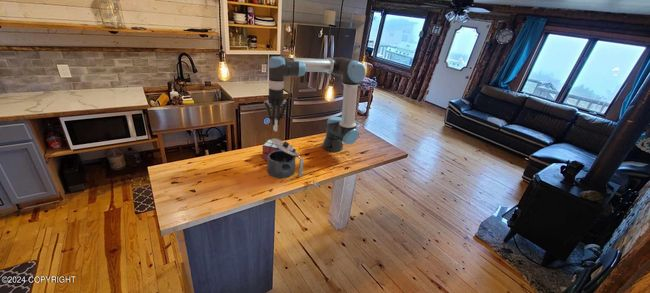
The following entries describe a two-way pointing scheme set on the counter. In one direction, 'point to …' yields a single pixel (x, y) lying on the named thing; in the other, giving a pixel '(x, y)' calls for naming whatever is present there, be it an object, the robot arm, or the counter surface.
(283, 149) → the lid
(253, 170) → the counter surface
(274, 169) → the pot
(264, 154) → the puzzle cube
